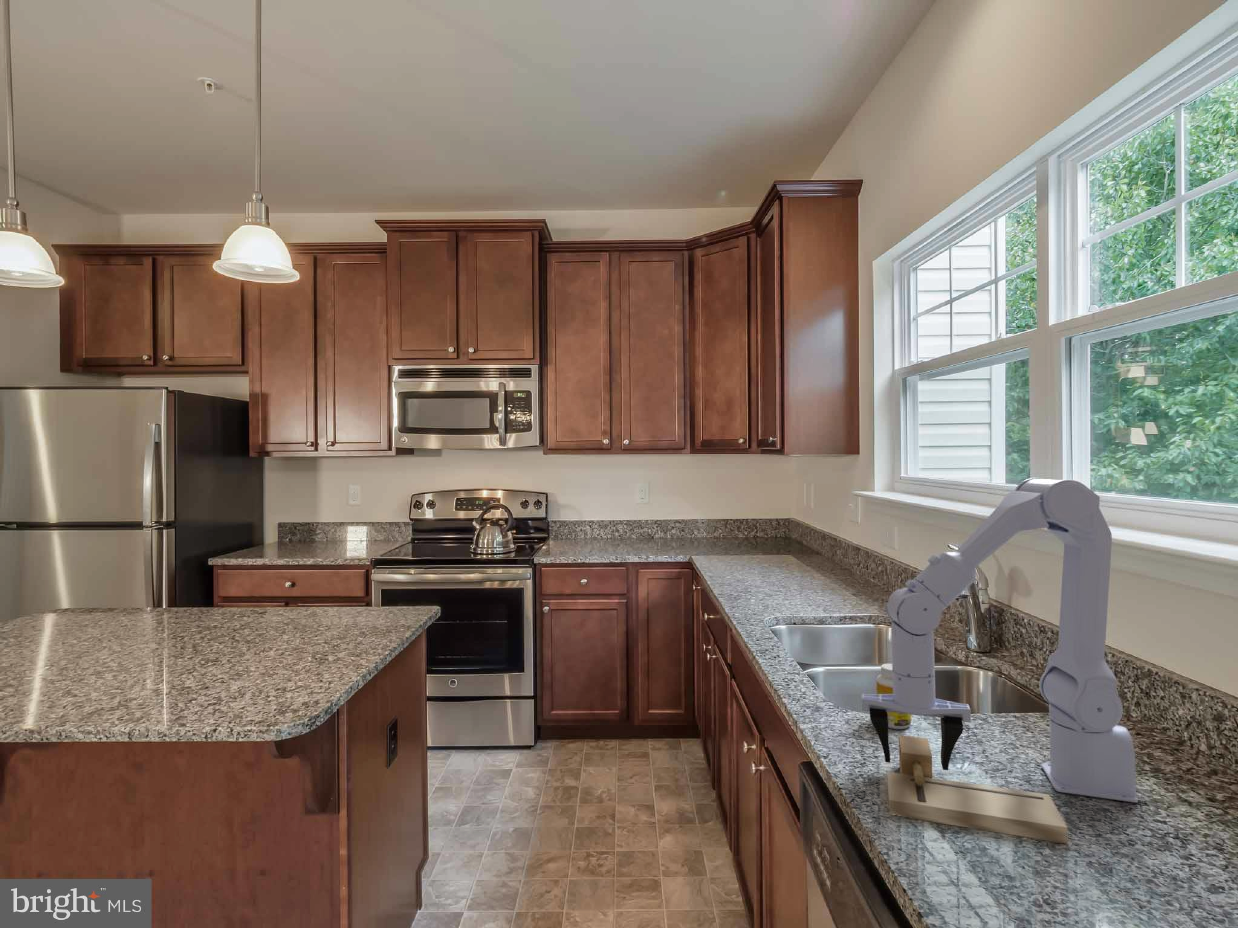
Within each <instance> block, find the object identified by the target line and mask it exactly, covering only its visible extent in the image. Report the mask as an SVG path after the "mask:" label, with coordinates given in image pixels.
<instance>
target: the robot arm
mask: <svg viewBox="0 0 1238 928" xmlns="http://www.w3.org/2000/svg"><path fill="white" fill-rule="evenodd" d="M1100 498H1101V497H1100V496H1099V495H1098V494H1097V493H1095V492H1094V491H1093V490H1091V489H1090V488H1089V487H1088V486H1087V485H1085V484H1083V483H1082V482H1080V481H1078V480H1073V479H1045V478H1041V477H1030V478H1026V479H1024V480H1023V481H1021V482H1020V483H1019V484H1018V485H1017V486H1016V487H1015V489H1014V490H1011V491H1010V492H1008V493H1006V494H1005V496H1004V497H1003V498H1002V500H1001V502H1000V503H999V504H998V506H997V507H996V508H995V509H994V510H993V512H991V513H990V514H989V516H988V517H986V519H985V520H984V521H983V522H981V524H980V525H979V526H978V527H977V528H976V529H975V530H974V531H973V532H972V534H971V535H970V536H969V537H968V538H967V539H966V540H965V541H964V542H963V543H962V544H961V545H960V547H958V548H957V550H956V551H950V552H949V551H942V552H941V553H939V555H937V554H932V555H931V557H929V558H928V560H927V561H928V563H929V564H928V565H927V566H926V567H925V568H924V569H923V570H922V571H921V572H920V573H919V574H917V576H915V577H914V578H913V580H911V579H908V580H907V581H906V582H905V584H904V585H906V587H903V588H898V589H896V590H894V592H892V593H891V594H890V596H889V597H888V599H887V600H888V602H887V603H886V604H885V605H884V610H885V613H886V615H887V617H888V618H889V619H890V620H891V664H892V674H893V694H877V693H875V694H873V693H871V694H869V693H868V694H867V693H861V711H862V712H869V719H870V721H871V724H872V726H873V728H874V729H875V731H876V735H877V736H878V739H879V741H880V744H881V748H882V751H883V754H884V762H885V763H891V754H890V752H891V751H890V743H889V728H888V714H887V712H893V713H903V714H911V716H912V715H915V716H923V717H933V718H939V720H940V733H941V744H940V745H941V746H940V765H941V768H942V770H943V771H949V766H950V760H951V757H952V753H953V751H954V748H955V746H956V744H957V742H958V741H959V739H960V738H961V735H962V734H963V731H964V725H963V722H964V723H972V722H971V721H972V718H971V717H972V715H971V714H972V713H971V712H972V711H971V706H970V705H969V704H968V703H962V702H961V703H959V702H955V701H950V700H945V699H940V698H936V677H935V676H936V671H935V670H936V667H935V666H936V665H935V642H934V640H935V639H934V630H936V629H937V628H938V627H939V625H940V624H941V620H942V613H943V611H944V610H946V608H948V607H949V606H950V605H951V604H952V603H953V602H954V601H955V600H956V599H957V598H958V597H960V596H961V594H962V593H964V592H965V590H967V589H968V588H969V587H970V586H971V585H972V584H974V583H975V581H976V571H977V570H976V568H977V567H978V566H980V565H981V564H982V563H984V562H985V561H986V560H987V559H988V558H990V557H991V556H992V555H993V554H994V553H995V552H997V550H999V549H1000V548H1001V547H1002V546H1003V545H1005V544H1006V543H1007V542H1008V541H1010V540H1011V539H1012V538H1013V537H1014V536H1016V535H1017V534H1018V533H1020V532H1023V531H1031V530H1038V529H1040V530H1041V529H1047V530H1048V531H1050V533H1052V534H1053V535H1054V536H1055V537H1056V538H1057V539H1059V540H1060V542H1062V543H1063V561H1062V575H1061V576H1062V577H1061V590H1060V591H1061V592H1060V605H1059V606H1060V609H1059V623H1058V624H1059V625H1058V641H1057V649H1056V650H1055V651H1054V652H1052V653H1051V654H1050V655H1049V656H1048V658H1047V663H1046V665H1047V666H1046V668H1045V670H1044V672H1043V674H1042V675H1041V677H1040V679H1039V686H1038V687H1039V688H1038V689H1039V692H1040V695H1041V696H1042V697H1043V700H1045V701H1046V702H1047V703H1048V711H1049V713H1048V714H1049V715H1048V717H1049V718H1048V719H1049V756H1050V757H1049V762H1050V763H1045V762H1044V763H1041V768H1042V769H1043V771H1044V772H1045V775H1046V776H1047V778H1048V780H1049V781H1050V783H1051V785H1052V787H1053V788H1054V790H1055V791H1056V792H1059V793H1064V794H1071V795H1079V796H1085V797H1086V796H1087V797H1093V798H1094V797H1095V798H1101V799H1107V800H1108V799H1109V800H1116V801H1123V802H1131V803H1138V802H1139V798H1138V797H1137V796H1136V794H1137V793H1136V790H1137V788H1136V787H1137V786H1136V754H1135V753H1136V752H1135V747H1134V742H1133V738H1132V736H1131V733H1130V731H1129V730H1128V728H1126V727H1125V726H1122V725H1119V722H1120V721H1121V719H1122V717H1123V714H1124V713H1123V712H1124V707H1123V706H1124V705H1123V703H1122V700H1121V698H1120V696H1119V693H1118V687H1117V685H1118V680H1117V678H1116V676H1115V675H1114V673H1113V671H1112V670H1111V668H1110V666H1109V664H1108V663H1107V662H1106V659H1105V653H1106V640H1107V639H1106V636H1107V625H1108V621H1107V619H1108V608H1109V607H1108V605H1109V592H1110V591H1109V588H1110V573H1111V560H1112V559H1111V558H1112V546H1113V545H1112V543H1113V542H1112V541H1113V536H1112V532H1111V529H1110V527H1109V525H1108V523H1107V521H1106V519H1105V516H1104V515H1103V512H1102V510H1101V509H1100V503H1101V501H1100V500H1101V499H1100Z"/></svg>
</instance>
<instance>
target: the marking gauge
mask: <svg viewBox="0 0 1238 928" xmlns="http://www.w3.org/2000/svg"><path fill="white" fill-rule="evenodd" d="M898 754H899V758H898V759H899V763H898V764H899V772H900V774H907V775H914V778H915V783H916V784H917V785H918V786H919V787H921V786H923V785H924V784H925V781H924V777H928V778H933V755H932V751H931V746H930V743H929V738H927V737H921V736H920V737H919V736H911V735H910V736H908V735H900V734H898Z"/></svg>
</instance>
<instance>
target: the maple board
mask: <svg viewBox="0 0 1238 928" xmlns="http://www.w3.org/2000/svg"><path fill="white" fill-rule="evenodd" d="M924 781H925V784H924V785H923V786H921V787H919V786H918V785H917V784H916V783H915V778H914V775H907V774H900V773H899V772H892V771H887V772H886V782H887V783H886V784H887V785H886V786H887V787H886V788H887V797H888V809H889V810H890V811H889V815H890V814H895V815H900V816H903V817H902V818H906V817H909V818H908V819H912V818H914V819H913V820H918V819H919V821H926V822H932V823H937V824H944V825H951V826H955V827H956V826H957V827H963V828H967V829H968V828H969V829H976V830H979V831H980V830H982V831H986V832H987V831H988V832H994V833H998V834H1005V835H1006V834H1007V835H1012V836H1016V837H1017V836H1019V837H1023V838H1024V837H1025V838H1030V839H1037V840H1043V841H1048V842H1055V843H1061V844H1067V845H1068V843H1069V842H1068V841H1069V840H1068V839H1069V838H1068V837H1069V836H1068V834H1069V833H1068V826H1067V824H1066V822H1065V820H1064V819H1063V817H1062V815H1061V813H1060V812H1059V810H1058V808H1057V806H1056V804H1055V803H1054V801H1053V799H1052V798H1051V795H1050V794H1048V793H1041V792H1034V791H1028V790H1020V789H1013V788H1006V787H1001V786H1000V787H997V786H992V785H983V784H976V783H971V782H965V781H963V782H962V781H957V780H955V781H954V780H950V779H949V780H948V779H940V778H934V777H932V778H928V777H924ZM900 816H899V817H900Z"/></svg>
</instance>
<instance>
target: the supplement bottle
mask: <svg viewBox="0 0 1238 928" xmlns="http://www.w3.org/2000/svg"><path fill="white" fill-rule="evenodd" d="M880 665H881V666H880V674H879V675H877V677H876V680H875V681H876V694H893V674H892V663H883V664H880ZM887 714H888V729H891V730H892V729H894V730H905V729H908V728H909V727H910V726H911V724H912V717H911V716H912V714H903V713H893V712H887Z"/></svg>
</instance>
